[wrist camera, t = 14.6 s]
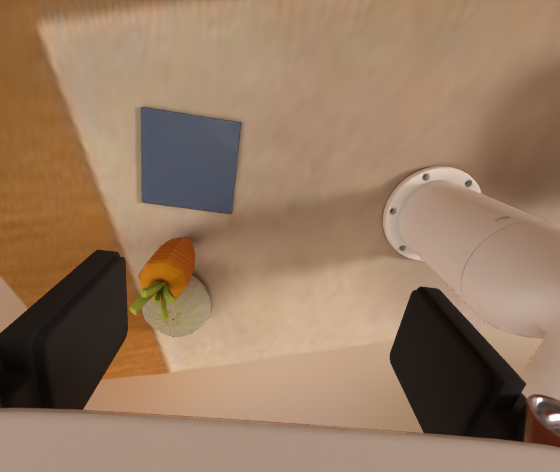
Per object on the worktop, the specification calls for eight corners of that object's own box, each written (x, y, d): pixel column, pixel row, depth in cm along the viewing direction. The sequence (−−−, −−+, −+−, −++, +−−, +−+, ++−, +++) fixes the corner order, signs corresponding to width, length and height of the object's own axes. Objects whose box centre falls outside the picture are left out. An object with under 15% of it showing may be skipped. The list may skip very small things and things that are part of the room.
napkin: (241, 122, 37) (240, 122, 36) (231, 213, 41) (231, 214, 40) (142, 106, 36) (140, 106, 35) (142, 201, 40) (141, 202, 39)
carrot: (209, 228, 41) (180, 291, 28) (201, 261, 43) (171, 336, 29) (170, 218, 41) (121, 277, 27) (164, 252, 42) (115, 324, 29)
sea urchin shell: (205, 266, 41) (203, 331, 38) (216, 281, 49) (214, 336, 46) (133, 269, 41) (125, 334, 38) (155, 284, 48) (149, 340, 45)
